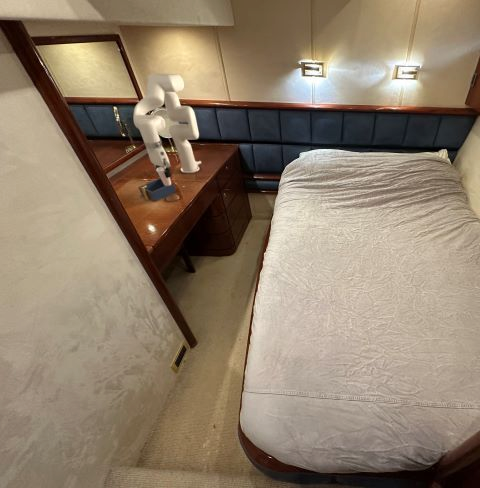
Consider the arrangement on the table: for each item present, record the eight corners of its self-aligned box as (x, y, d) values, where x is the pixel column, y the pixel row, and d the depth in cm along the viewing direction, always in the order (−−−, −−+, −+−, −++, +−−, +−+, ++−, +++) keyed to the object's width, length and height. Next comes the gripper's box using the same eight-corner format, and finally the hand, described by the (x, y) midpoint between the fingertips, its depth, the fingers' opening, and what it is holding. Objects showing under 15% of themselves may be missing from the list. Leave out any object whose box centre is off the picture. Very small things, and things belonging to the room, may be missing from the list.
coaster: (173, 194, 165) (173, 193, 165) (182, 197, 163) (182, 196, 162) (163, 199, 160) (162, 198, 159) (171, 202, 157) (171, 202, 157)
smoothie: (175, 182, 158) (167, 159, 149) (171, 187, 153) (162, 164, 144) (164, 181, 157) (156, 159, 148) (159, 186, 152) (150, 163, 143)
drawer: (162, 186, 172) (158, 174, 166) (176, 191, 168) (172, 179, 162) (139, 197, 160) (134, 184, 155) (153, 202, 156) (148, 190, 151)
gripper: (170, 145, 140) (180, 177, 151) (149, 139, 146) (160, 169, 157) (158, 150, 135) (169, 181, 146) (136, 143, 140) (148, 174, 152)
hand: (164, 175), depth 151 cm, fingers closed on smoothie, 6 cm apart
